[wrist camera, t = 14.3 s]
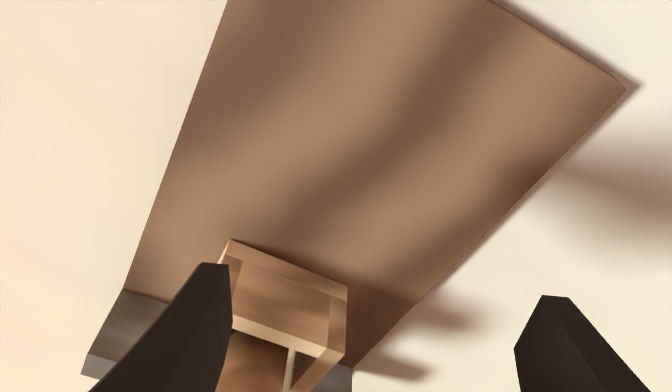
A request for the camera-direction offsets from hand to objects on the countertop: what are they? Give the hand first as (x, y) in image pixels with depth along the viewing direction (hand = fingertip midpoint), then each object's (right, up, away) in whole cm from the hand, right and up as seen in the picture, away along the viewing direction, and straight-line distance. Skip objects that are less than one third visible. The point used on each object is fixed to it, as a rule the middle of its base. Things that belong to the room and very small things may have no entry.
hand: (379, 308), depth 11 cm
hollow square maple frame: (-5, -3, +14) cm, 15 cm away
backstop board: (-2, +2, +12) cm, 12 cm away
